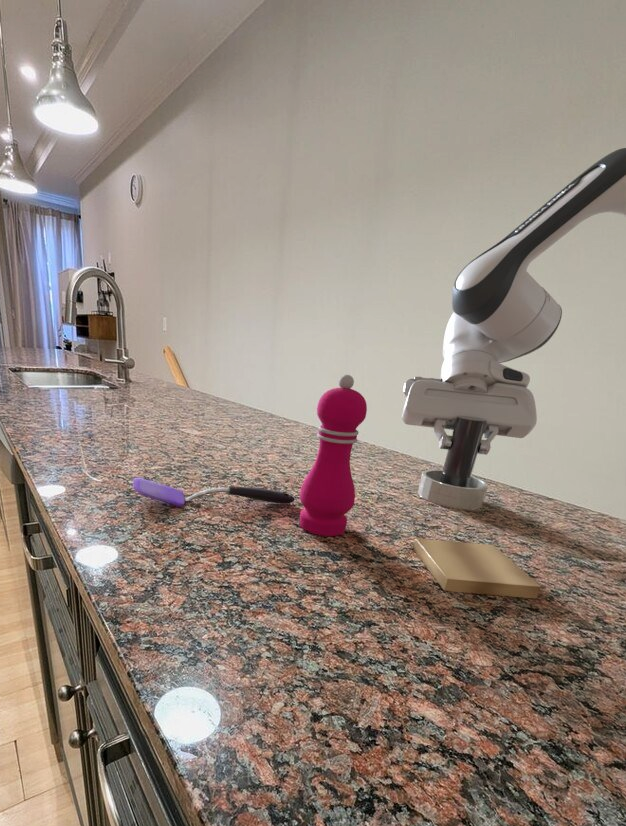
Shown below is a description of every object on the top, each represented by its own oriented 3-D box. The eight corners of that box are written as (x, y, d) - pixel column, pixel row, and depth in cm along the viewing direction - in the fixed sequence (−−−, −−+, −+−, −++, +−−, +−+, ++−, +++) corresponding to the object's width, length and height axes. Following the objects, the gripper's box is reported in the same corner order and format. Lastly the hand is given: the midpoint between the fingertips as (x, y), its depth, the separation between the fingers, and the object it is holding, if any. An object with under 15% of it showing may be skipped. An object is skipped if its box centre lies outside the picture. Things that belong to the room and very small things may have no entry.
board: (490, 555, 57) (494, 544, 56) (536, 599, 48) (541, 586, 47) (412, 548, 57) (415, 538, 56) (444, 590, 48) (447, 578, 47)
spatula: (288, 496, 71) (290, 481, 70) (299, 512, 65) (301, 496, 64) (134, 491, 67) (134, 475, 66) (130, 508, 61) (130, 491, 60)
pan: (464, 493, 81) (470, 472, 79) (492, 515, 71) (500, 491, 70) (408, 488, 81) (413, 467, 79) (429, 509, 71) (435, 485, 70)
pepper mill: (310, 512, 65) (332, 370, 58) (356, 527, 62) (387, 377, 54) (285, 526, 60) (306, 371, 52) (334, 543, 56) (365, 379, 49)
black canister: (461, 480, 77) (478, 416, 73) (472, 489, 73) (492, 421, 69) (435, 478, 77) (452, 414, 73) (446, 487, 73) (464, 419, 69)
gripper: (409, 363, 76) (401, 430, 71) (540, 375, 72) (542, 447, 67) (401, 387, 82) (394, 451, 77) (523, 400, 78) (523, 468, 73)
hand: (464, 449), depth 72 cm, fingers closed on black canister, 4 cm apart
